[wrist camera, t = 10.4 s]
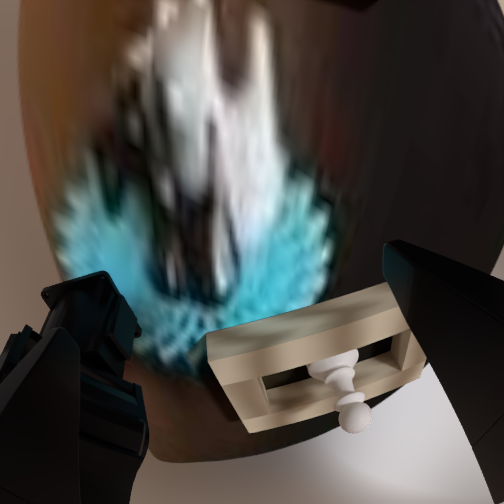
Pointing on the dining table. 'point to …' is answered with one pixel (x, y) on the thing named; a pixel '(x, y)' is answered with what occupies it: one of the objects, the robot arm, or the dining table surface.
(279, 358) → the wooden rectangular frame
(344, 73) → the dining table surface
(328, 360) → the chess pawn
